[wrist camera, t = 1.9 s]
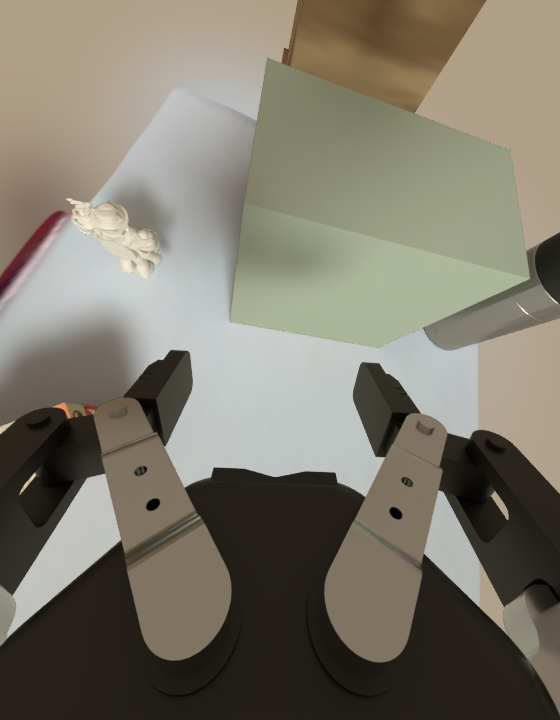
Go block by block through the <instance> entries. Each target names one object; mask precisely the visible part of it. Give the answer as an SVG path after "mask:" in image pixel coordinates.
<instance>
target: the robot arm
mask: <svg viewBox="0 0 560 720" xmlns="http://www.w3.org/2000/svg"><path fill="white" fill-rule="evenodd" d="M526 254H527V261H528V267H529V274H530V279H529V280H527V281H524V282H522V283H520V284H518V285H516V286H513V287H511V288H509V289H507V290H505V291H502V292H500V293H498V294H496V295H494V296H491V297H489V298H487V299H485V300H483V301H480V302H478V303H476V304H474V305H472V306H469V307H467V308H465V309H463V310H461V311H458V312H456V313H454V314H452V315H450V316H447V317H445V318H443V319H441V320H439V321H436V322H434V323H432V324H430V325H428V326H425V327H424V329H425V332H426V334H427V336H428V337H429V339H430V340H431V341H432V342H433V343H434V344H435V345H437V346H438V347H440V348H442V349H445V350H455V349H459V348H462V347H466V346H469V345H472V344H476V343H479V342H483V341H486V340H489V339H493V338H496V337H499V336H503V335H506V334H509V333H513V332H516V331H519V330H523V329H526V328H529V327H533V326H536V325H539V324H543V323H546V322H550V321H552V320H556V319H559V318H560V233H558V234H556V235H554V236H552V237H551V238H549V239H547V240H545V241H544V242H542V243H540V244H538V245H536V246H535V247H532V248H531V249H529V250H527V251H526ZM192 385H193V378H192V369H191V360H190V353H189V351H180V350H171V351H170V352H169V353H168V354H167V356H166V357H165V358H164V360H157V361H156V362H154V363H152V364H151V365H149V366H148V367H147V368H146V370H145V371H144V372H143V374H141V376H140V377H139V379H138V380H137V381H136V382H135V383H134V384H133V385H132V387H131V388H130V389H129V390H128V392H127V393H126V394H125V395H124V397H123V398H117V399H113V400H110V401H108V402H106V403H104V404H102V405H101V406H100V407H99V408H97V410H96V411H95V413H94V414H93V415H87V416H81V417H74V418H68V417H67V414H66V412H65V411H64V410H63V409H61V408H57V407H49V408H43V409H39V410H35V411H32V412H30V413H28V414H26V415H24V416H22V417H20V418H19V419H17V420H16V421H15V422H14V423H13V424H11V425H10V426H9V427H8V428H7V429H6V430H5V431H3V432H2V433H1V434H0V720H560V494H559V493H558V492H557V491H556V490H555V489H554V488H553V486H552V485H551V484H550V483H549V482H548V481H547V480H546V479H545V478H544V477H543V476H542V475H541V473H540V472H539V471H538V470H537V469H536V468H535V467H534V466H533V465H532V464H531V463H530V462H529V461H528V459H527V458H526V457H525V456H524V455H523V454H522V453H521V452H520V451H519V450H518V449H517V448H516V447H515V446H514V445H513V444H512V443H511V442H510V441H508V440H507V439H505V438H503V437H502V436H500V435H498V434H496V433H493V432H490V431H485V430H477V431H474V432H473V433H472V435H471V437H470V438H469V439H467V438H463V437H460V436H456V435H452V434H449V433H447V431H446V429H445V427H444V426H443V425H442V424H441V423H440V422H439V421H437V420H436V419H434V418H432V417H430V416H427V415H424V414H421V413H420V411H419V410H418V408H417V407H416V406H415V404H414V403H413V401H412V400H411V399H410V397H409V396H407V393H406V391H405V390H404V389H403V387H402V386H401V384H400V383H399V381H398V380H396V379H395V378H394V377H392V376H391V375H390V374H386V373H385V372H384V370H383V369H382V367H381V366H380V364H379V363H366V362H362V363H361V365H360V367H359V371H358V375H357V379H356V382H355V386H354V390H353V400H354V403H355V406H356V408H357V411H358V413H359V416H360V419H361V421H362V424H363V426H364V429H365V431H366V434H367V436H368V439H369V441H370V444H371V446H372V449H373V451H374V454H375V456H376V457H385V459H384V461H383V463H382V466H381V468H380V470H379V472H378V474H377V476H376V478H375V480H374V482H373V484H372V486H371V488H370V490H369V492H368V494H367V496H366V497H364V496H363V495H362V494H360V493H359V492H357V491H355V490H354V489H352V488H350V487H348V486H345V485H343V484H340V483H337V478H336V474H335V473H331V472H307V471H306V472H301V473H295V474H290V475H285V476H280V477H272V476H268V475H264V474H261V473H257V472H254V471H250V470H246V469H237V468H213V472H212V476H211V478H206V479H203V480H200V481H197V482H195V483H193V484H190V485H189V486H187V487H185V488H184V486H183V484H182V482H181V480H180V478H179V476H178V474H177V472H176V470H175V468H174V466H173V464H172V462H171V460H170V458H169V456H168V454H167V452H166V450H165V448H164V446H166V444H167V442H168V440H169V438H170V436H171V434H172V432H173V430H174V427H175V425H176V423H177V421H178V419H179V417H180V415H181V412H182V410H183V408H184V406H185V404H186V402H187V400H188V398H189V395H190V393H191V390H192ZM34 473H35V474H36V476H35V477H34V478H33V480H32V481H31V482H30V483H29V485H28V486H27V487H26V488H25V489H24V491H23V492H22V493H21V494H20V492H21V490H22V488H23V486H24V485H25V484H26V482H27V481H28V480H29V479H30V478H31V476H32V475H33V474H34ZM101 474H106V478H107V482H108V486H109V490H110V495H111V499H112V503H113V507H114V511H115V515H116V520H117V524H118V528H119V532H120V536H121V541H120V542H118V543H117V544H116V545H115V546H114V547H112V548H111V549H110V550H109V551H108V552H107V553H105V554H104V555H103V556H102V557H101V558H100V559H98V560H97V561H96V562H95V563H94V564H93V565H91V566H90V567H89V568H88V569H87V570H85V571H84V572H83V573H82V574H81V575H80V576H78V577H77V578H76V579H75V580H74V581H73V582H71V583H70V584H69V585H68V586H67V587H65V588H64V589H63V590H62V591H61V592H60V593H58V594H57V595H56V596H55V597H54V598H53V599H51V600H50V601H49V602H48V603H47V604H46V605H44V606H43V607H42V608H41V609H40V610H38V611H37V612H36V613H35V614H34V615H33V616H31V617H30V618H29V619H28V620H27V621H26V622H24V623H23V624H22V625H21V626H20V627H19V628H18V629H17V630H16V631H15V632H13V633H12V634H11V635H10V636H9V637H8V638H7V632H8V630H9V628H10V626H11V623H12V621H13V619H14V616H15V611H16V602H15V599H14V598H13V594H14V592H15V591H16V589H17V588H18V586H19V585H20V583H21V581H22V580H23V578H24V577H25V575H26V573H27V572H28V570H29V569H30V567H31V566H32V564H33V562H34V561H35V559H36V558H37V556H38V555H39V553H40V551H41V550H42V548H43V547H44V545H45V543H46V542H47V540H48V539H49V537H50V536H51V534H52V532H53V531H54V529H55V528H56V526H57V525H58V523H59V521H60V520H61V518H62V517H63V515H64V513H65V512H66V510H67V509H68V507H69V506H70V504H71V502H72V501H73V499H74V498H75V496H76V495H77V493H78V491H79V490H80V488H81V487H82V485H83V483H84V482H85V480H86V479H87V477H92V476H96V475H101ZM438 490H439V491H443V492H444V494H445V496H446V498H447V499H448V501H449V503H450V505H451V507H452V509H453V511H454V513H455V515H456V517H457V519H458V520H459V522H460V524H461V526H462V528H463V530H464V532H465V534H466V536H467V538H468V539H469V541H470V543H471V545H472V547H473V549H474V551H475V553H476V555H477V557H478V559H479V560H480V562H481V564H482V566H483V568H484V570H485V572H486V574H487V575H488V578H489V579H490V581H491V583H492V585H493V587H494V589H495V591H496V593H497V595H498V597H499V598H500V600H501V602H502V604H503V606H504V610H503V623H504V627H505V630H506V632H507V634H506V633H505V632H504V631H503V630H502V629H501V628H500V627H499V626H498V625H497V624H496V623H495V622H494V621H493V620H492V619H491V618H489V616H487V615H486V614H485V613H484V612H483V611H482V610H481V609H480V608H479V607H478V606H477V605H476V604H475V603H474V602H473V601H472V600H471V599H470V598H469V597H468V596H467V595H466V594H465V593H464V592H463V591H462V590H461V589H460V588H459V587H458V586H457V585H456V584H455V583H454V582H453V581H452V580H451V579H450V578H448V577H447V576H446V575H445V574H444V573H443V572H442V571H441V570H440V569H439V568H438V567H437V566H436V565H435V564H434V563H433V562H432V561H431V560H430V559H429V558H428V557H427V556H426V555H425V554H424V550H425V545H426V541H427V537H428V532H429V528H430V524H431V519H432V515H433V511H434V506H435V502H436V498H437V493H438ZM494 491H496V493H497V494H498V495H499V497H500V498H501V500H502V501H503V502H504V504H505V506H506V507H507V510H508V514H509V520H507V519H506V518H505V516H504V515H503V513H502V512H501V510H500V509H499V507H498V506H497V505H496V503H495V501H494V500H493V499H492V497H491V495H492V494H493V493H494ZM6 638H7V639H6Z"/></svg>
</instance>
